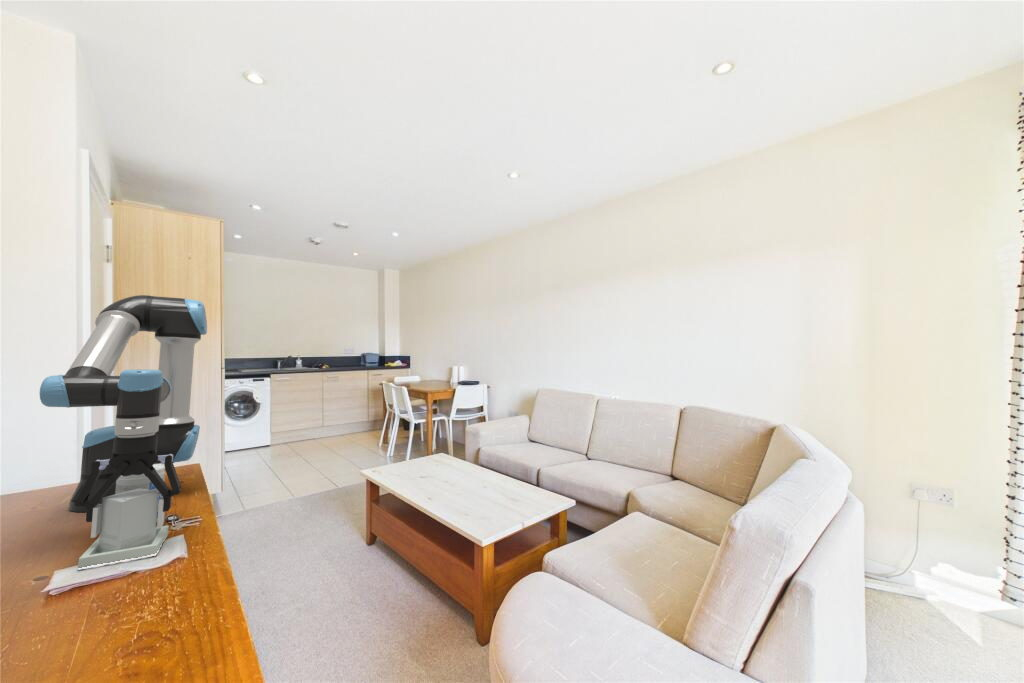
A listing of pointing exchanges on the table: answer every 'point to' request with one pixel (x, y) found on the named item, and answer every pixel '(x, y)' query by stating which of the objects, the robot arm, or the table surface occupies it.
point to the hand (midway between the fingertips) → (128, 530)
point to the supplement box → (128, 520)
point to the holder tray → (122, 551)
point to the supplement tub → (139, 483)
